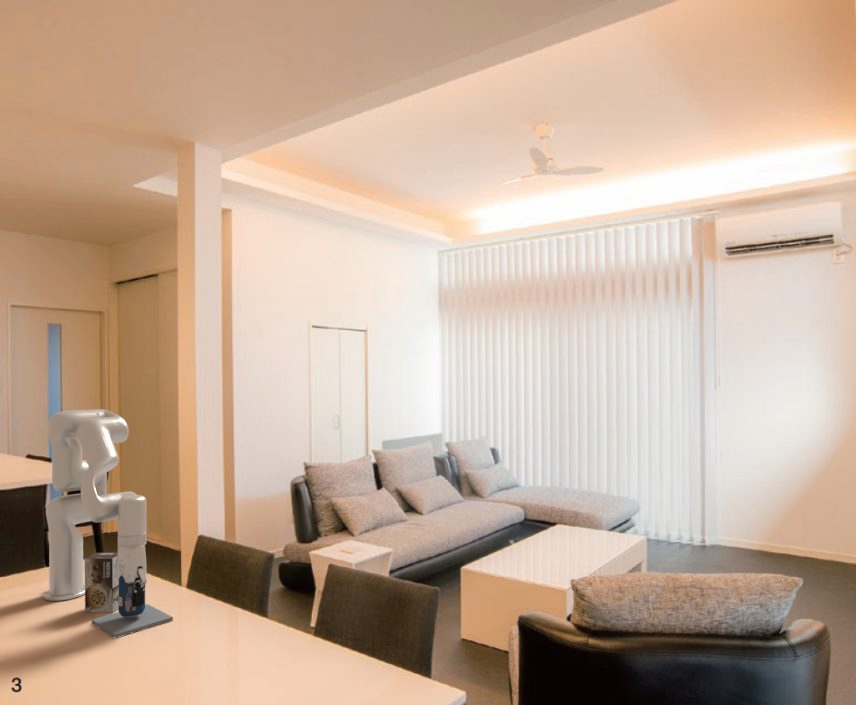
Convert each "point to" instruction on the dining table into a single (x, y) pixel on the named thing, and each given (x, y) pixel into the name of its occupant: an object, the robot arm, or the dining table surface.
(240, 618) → the dining table surface
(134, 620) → the mat
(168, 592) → the dining table surface
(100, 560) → the coffee box
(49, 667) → the dining table surface
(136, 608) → the soda can
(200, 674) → the dining table surface
